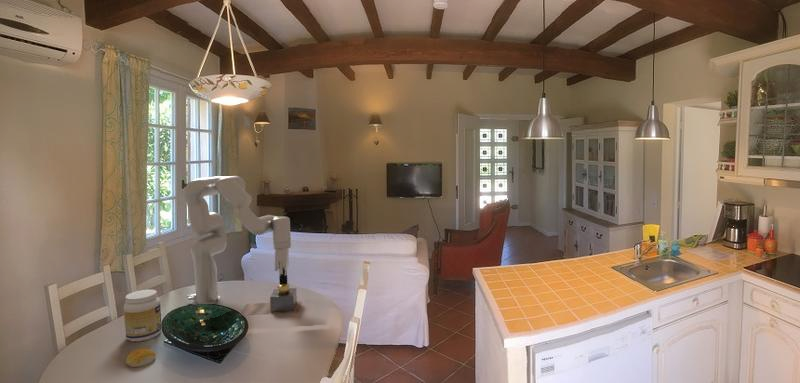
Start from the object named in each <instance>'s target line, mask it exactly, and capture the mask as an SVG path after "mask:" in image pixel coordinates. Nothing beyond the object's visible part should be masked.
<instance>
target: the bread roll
mask: <svg viewBox="0 0 800 383" xmlns="http://www.w3.org/2000/svg"><path fill="white" fill-rule="evenodd" d="M156 357H157V354H156V352H155V351H153V350H150V349H149V348H146V347H143V348H141V347H140V348H137V349H135V350H132V351H131V352H130V353H129V354H128V355H127V356H126V360H125V363H126V365H127V366H129V367H131V368H140V367H144V366H146V365H149V364H150V363H153V362H154V360H155V359H156Z"/></svg>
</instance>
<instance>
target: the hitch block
mask: <svg viewBox="0 0 800 383" xmlns="http://www.w3.org/2000/svg"><path fill="white" fill-rule="evenodd" d="M297 300H298V298H297V288H296V287H295V288H294V287H293V288H290V287H289V293H288V294H284V295H280V294H278V292H277V288H275V289H273V291H272V292H271V294H270V297H269V303H270V309H271V312H288V311H294V309H295V306H296V303H297Z"/></svg>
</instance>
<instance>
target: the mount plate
mask: <svg viewBox="0 0 800 383" xmlns="http://www.w3.org/2000/svg"><path fill="white" fill-rule="evenodd" d="M301 305H302V301H299V300H298V301H297V303H296V306H295V309H294V311H288V312H271V309H270V302H259V303H257V302H256V303H246V304H245V305H244V307H243V308H242V310H241V312H240V313H241V314H242V315H241V316H253V315H257V316H258V315H275V314H278V315H279V314H292V313H296V314H297V313H299V311H300V308H301Z"/></svg>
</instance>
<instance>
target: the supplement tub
mask: <svg viewBox="0 0 800 383" xmlns="http://www.w3.org/2000/svg"><path fill="white" fill-rule="evenodd" d="M122 310H123V316H124V317H123V319H124V332H125V338H126V340H128V341H129V340H130V341H129V342H135V341H136V342H143V340H144V341H147V340H151V339H153V338H155V337H157V336H158V335H160V333H162V331H161V323H162V310H161V300H160V298H159V297H158V292H157V290H156V289H142V290H137V291H133V292H130V293H128V294H126V295H125V303H124V305H123V309H122ZM162 324H163V323H162Z"/></svg>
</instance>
